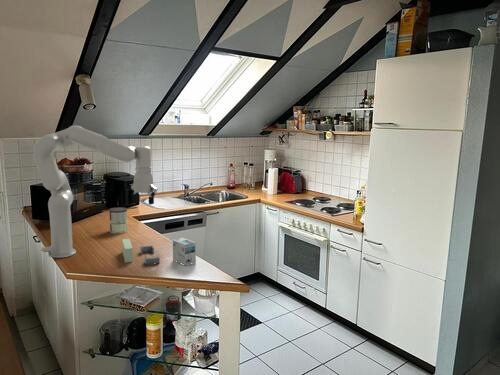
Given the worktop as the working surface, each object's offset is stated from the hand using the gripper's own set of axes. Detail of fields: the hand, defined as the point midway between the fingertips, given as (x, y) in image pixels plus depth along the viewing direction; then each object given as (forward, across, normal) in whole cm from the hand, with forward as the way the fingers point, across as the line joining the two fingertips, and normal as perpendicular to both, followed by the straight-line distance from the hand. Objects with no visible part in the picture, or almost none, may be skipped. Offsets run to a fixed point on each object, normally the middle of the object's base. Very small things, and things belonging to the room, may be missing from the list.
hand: (144, 203), depth 202 cm
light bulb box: (+26, +29, -4) cm, 39 cm away
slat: (+25, +1, -13) cm, 29 cm away
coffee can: (+25, -37, +17) cm, 48 cm away
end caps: (+25, +11, -8) cm, 29 cm away
